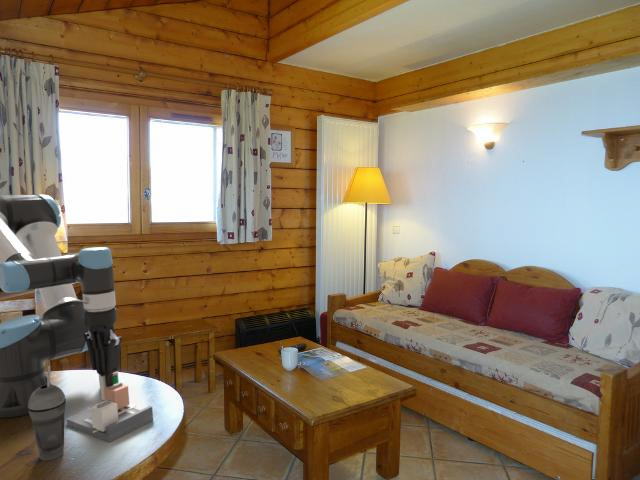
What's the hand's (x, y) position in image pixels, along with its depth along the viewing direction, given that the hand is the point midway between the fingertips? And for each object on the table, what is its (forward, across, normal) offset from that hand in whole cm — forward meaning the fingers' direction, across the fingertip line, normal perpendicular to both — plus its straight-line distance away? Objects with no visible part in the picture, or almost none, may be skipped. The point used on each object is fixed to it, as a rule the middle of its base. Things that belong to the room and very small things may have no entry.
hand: (107, 397), depth 126 cm
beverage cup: (+4, +8, -19) cm, 21 cm away
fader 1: (+2, +4, 0) cm, 4 cm away
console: (+4, +6, -4) cm, 8 cm away
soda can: (+3, -14, +10) cm, 17 cm away
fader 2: (+2, +11, -8) cm, 13 cm away
